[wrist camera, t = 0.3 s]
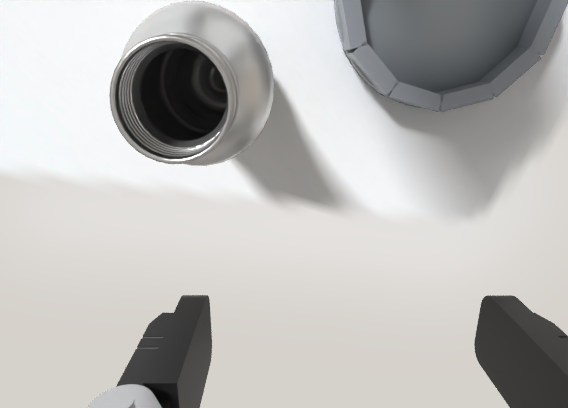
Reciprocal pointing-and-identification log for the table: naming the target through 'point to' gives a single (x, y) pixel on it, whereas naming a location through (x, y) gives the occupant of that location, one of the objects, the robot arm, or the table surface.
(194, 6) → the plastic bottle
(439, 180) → the table surface
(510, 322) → the robot arm
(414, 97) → the round tray
